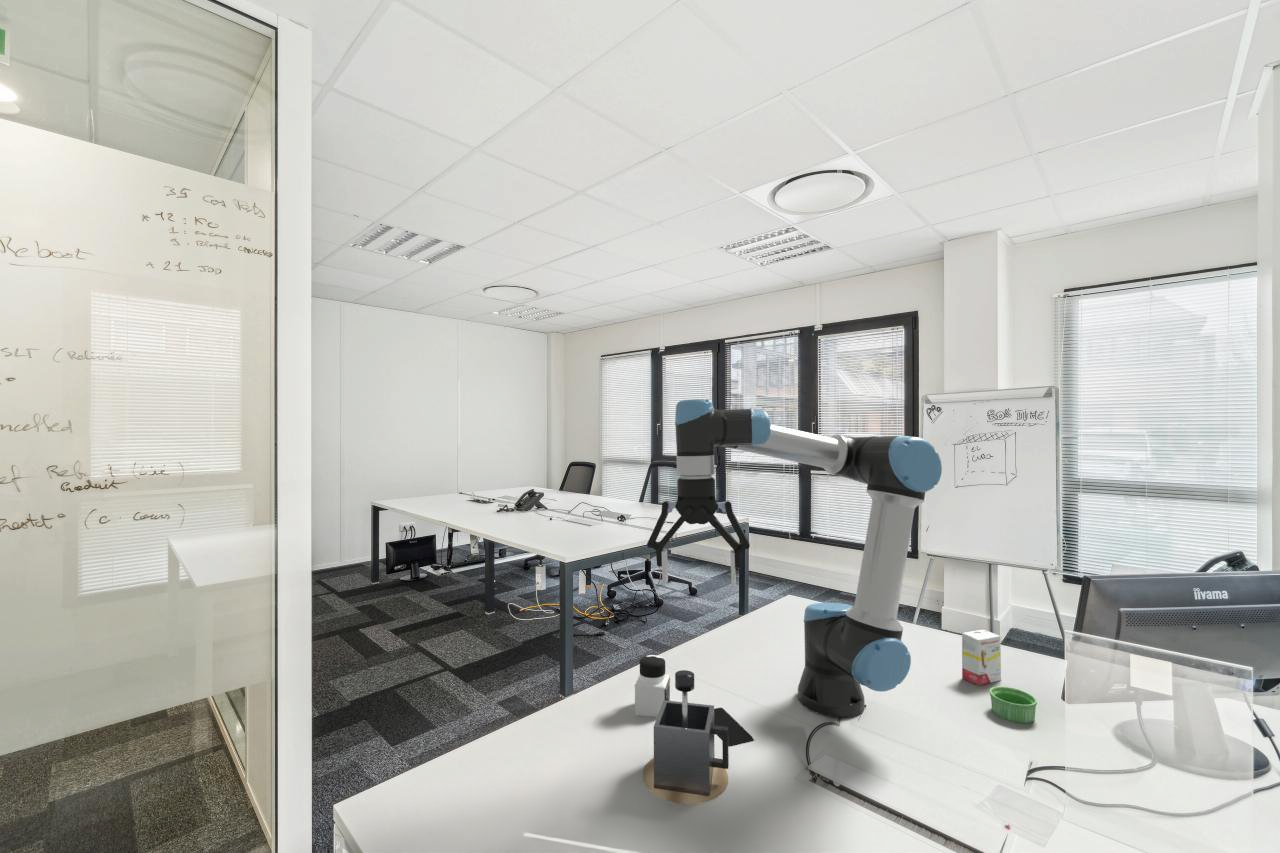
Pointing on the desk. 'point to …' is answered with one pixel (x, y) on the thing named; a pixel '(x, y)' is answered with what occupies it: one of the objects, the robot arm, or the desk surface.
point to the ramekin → (1013, 704)
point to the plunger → (684, 691)
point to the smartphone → (731, 728)
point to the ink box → (981, 657)
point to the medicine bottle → (651, 686)
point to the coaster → (716, 790)
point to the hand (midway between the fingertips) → (699, 583)
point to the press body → (687, 748)
